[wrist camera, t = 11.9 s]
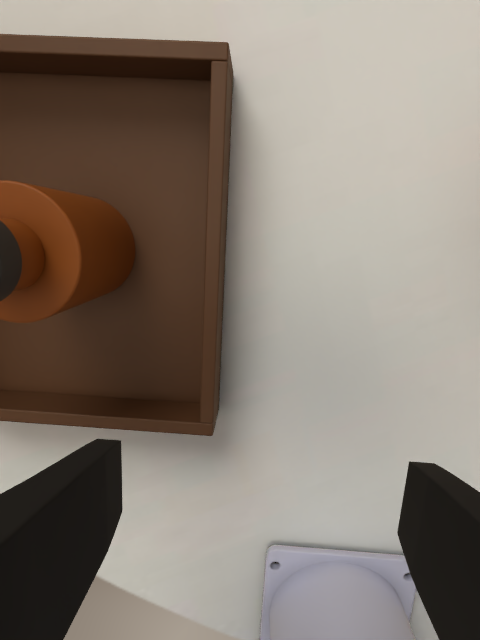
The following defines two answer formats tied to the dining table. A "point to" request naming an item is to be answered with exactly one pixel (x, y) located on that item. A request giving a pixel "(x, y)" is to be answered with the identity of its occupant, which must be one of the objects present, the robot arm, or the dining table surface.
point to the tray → (142, 217)
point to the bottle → (58, 251)
